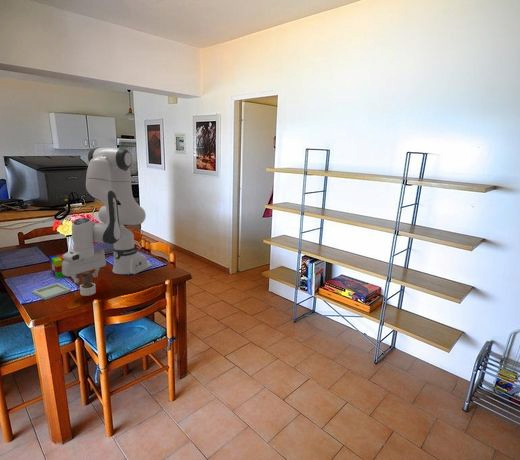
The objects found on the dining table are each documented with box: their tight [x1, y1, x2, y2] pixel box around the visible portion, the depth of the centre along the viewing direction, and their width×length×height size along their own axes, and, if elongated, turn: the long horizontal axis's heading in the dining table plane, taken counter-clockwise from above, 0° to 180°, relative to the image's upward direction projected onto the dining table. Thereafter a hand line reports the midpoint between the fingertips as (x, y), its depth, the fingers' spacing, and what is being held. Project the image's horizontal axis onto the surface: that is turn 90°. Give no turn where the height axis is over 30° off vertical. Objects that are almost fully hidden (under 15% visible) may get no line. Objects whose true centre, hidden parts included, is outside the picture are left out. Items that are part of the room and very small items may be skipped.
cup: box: [79, 282, 97, 297], centre depth 163 cm, size 7×7×4 cm
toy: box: [48, 253, 66, 279], centre depth 186 cm, size 10×10×10 cm
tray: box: [32, 282, 72, 301], centre depth 162 cm, size 12×12×2 cm
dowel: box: [81, 271, 93, 288], centre depth 162 cm, size 4×4×10 cm
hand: (86, 279), depth 161 cm, fingers open, 8 cm apart
